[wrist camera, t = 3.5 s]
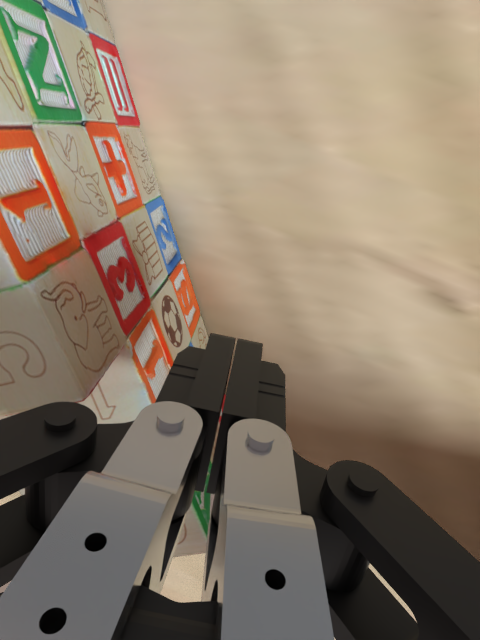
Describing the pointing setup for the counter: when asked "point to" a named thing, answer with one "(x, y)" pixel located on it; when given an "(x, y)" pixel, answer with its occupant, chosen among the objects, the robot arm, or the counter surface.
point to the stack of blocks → (84, 232)
